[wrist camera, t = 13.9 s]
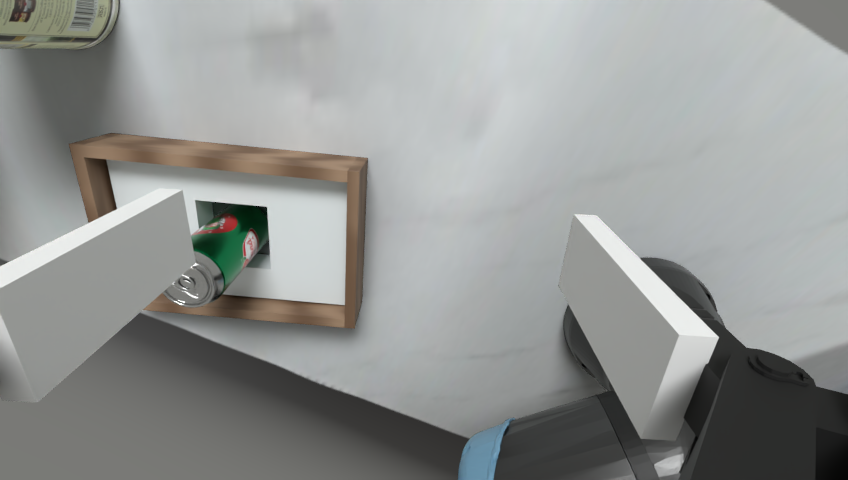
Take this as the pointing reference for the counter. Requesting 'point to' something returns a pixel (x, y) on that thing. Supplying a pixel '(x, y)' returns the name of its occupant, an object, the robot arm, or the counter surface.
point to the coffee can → (55, 23)
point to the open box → (247, 160)
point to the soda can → (220, 255)
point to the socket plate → (287, 223)
